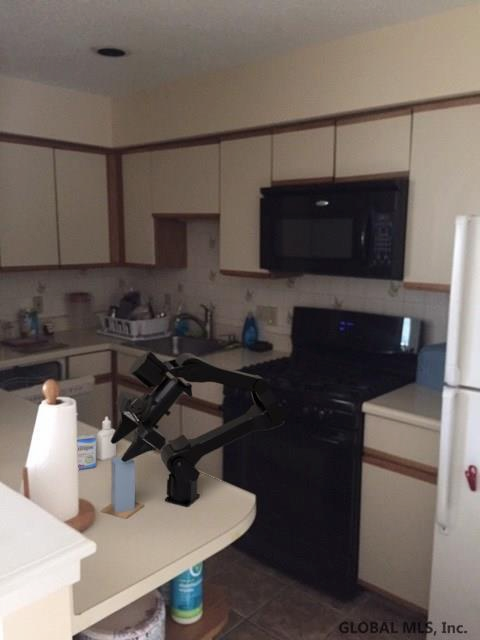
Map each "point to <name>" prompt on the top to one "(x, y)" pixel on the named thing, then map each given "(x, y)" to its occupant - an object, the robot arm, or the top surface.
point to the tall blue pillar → (123, 485)
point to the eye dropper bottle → (105, 441)
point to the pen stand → (125, 514)
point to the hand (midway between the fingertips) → (117, 451)
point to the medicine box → (86, 451)
